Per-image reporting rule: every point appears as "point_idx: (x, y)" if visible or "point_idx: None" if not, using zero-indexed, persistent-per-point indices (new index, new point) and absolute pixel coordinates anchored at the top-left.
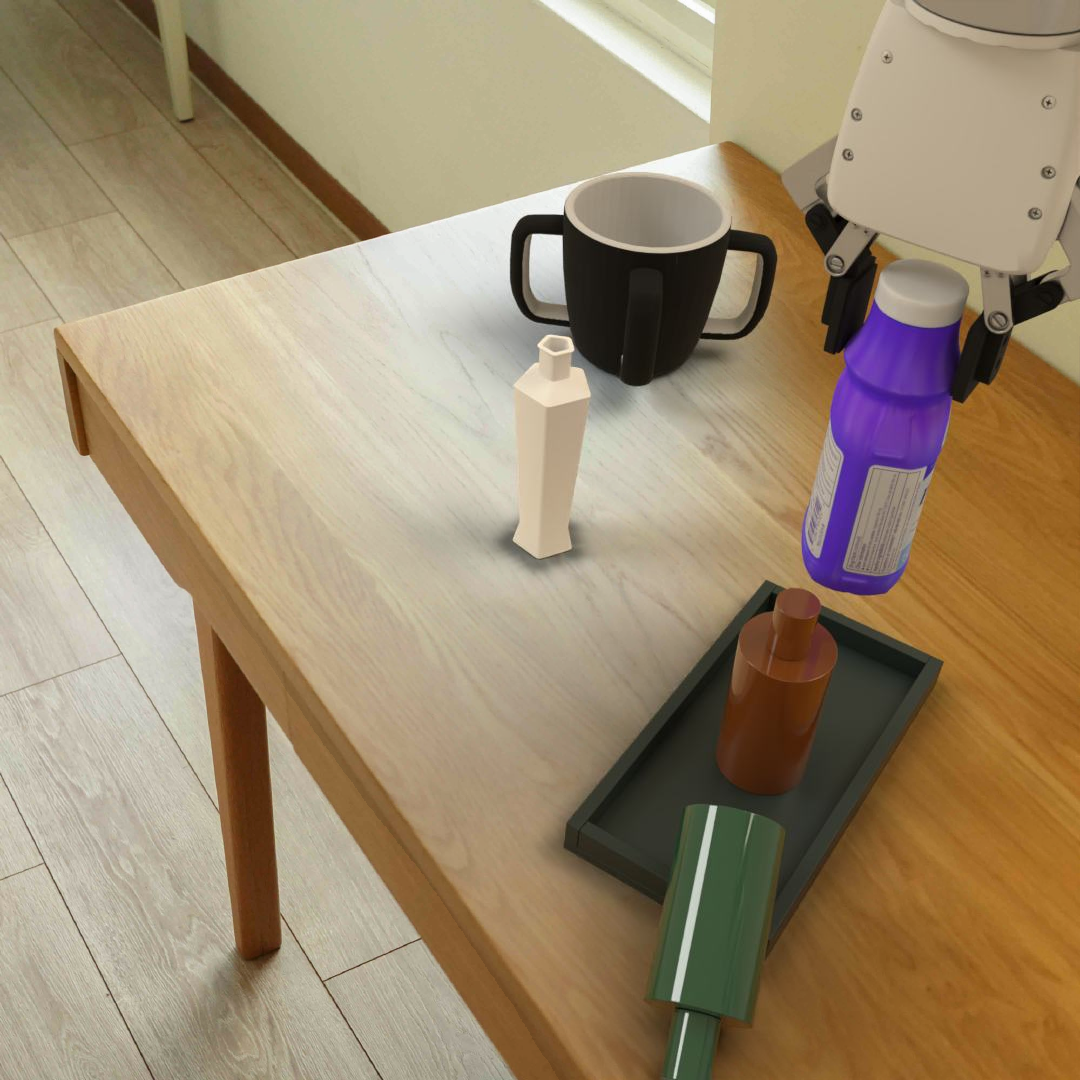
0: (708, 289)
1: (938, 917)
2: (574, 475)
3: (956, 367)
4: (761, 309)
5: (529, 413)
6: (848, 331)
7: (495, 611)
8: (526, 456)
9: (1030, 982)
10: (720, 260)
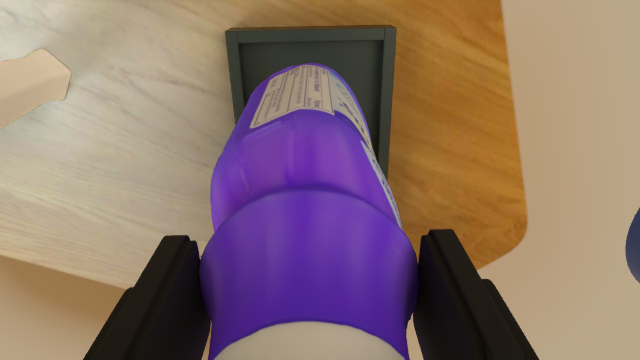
0: None
1: (449, 204)
2: (16, 94)
3: (411, 305)
4: None
5: None
6: (198, 327)
7: (89, 164)
8: None
9: (504, 210)
10: None
